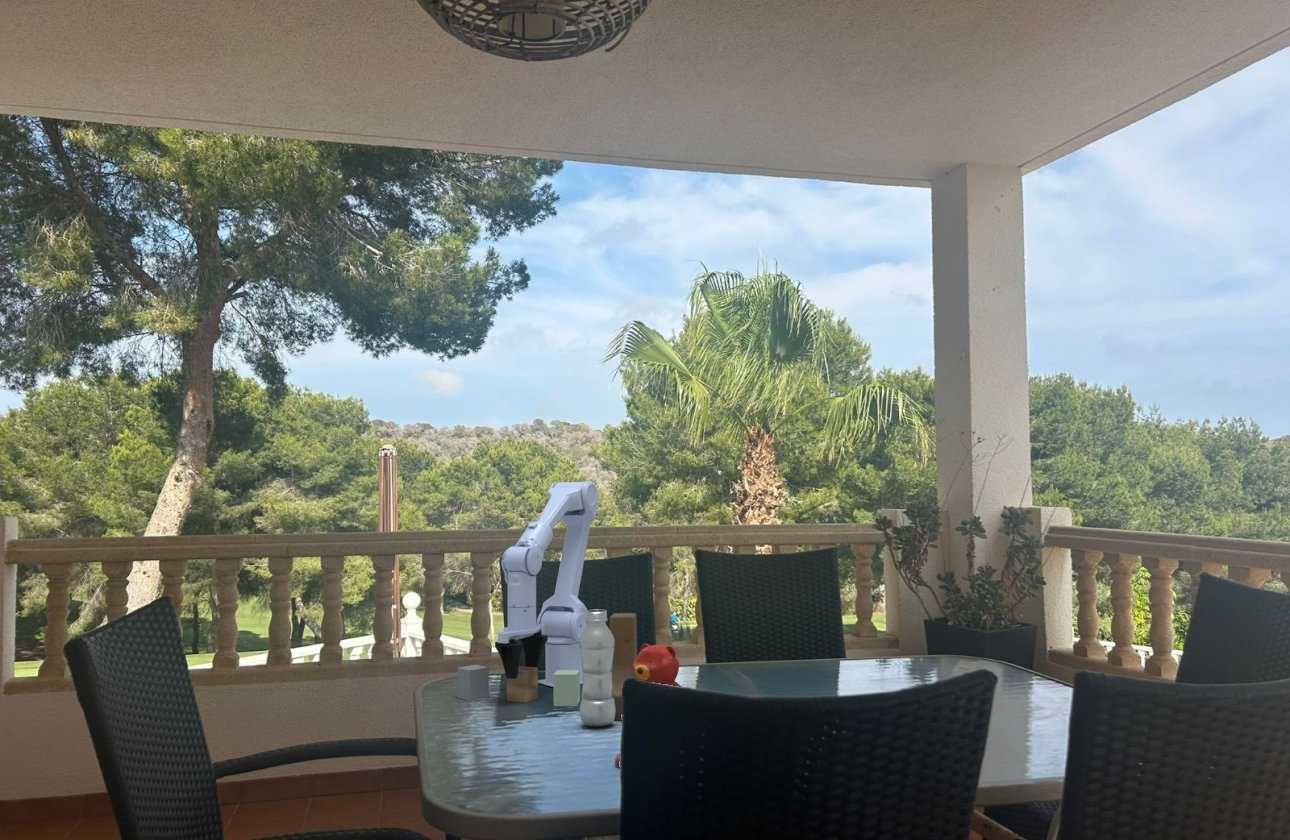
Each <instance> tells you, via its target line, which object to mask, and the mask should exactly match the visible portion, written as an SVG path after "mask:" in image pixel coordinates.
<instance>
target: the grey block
mask: <svg viewBox="0 0 1290 840" xmlns="http://www.w3.org/2000/svg"><path fill="white" fill-rule="evenodd" d="M489 669H490V668H489V666H485V665H484V666H483V665H479V664H472V665H465V666H459V667H456V677H457V678H456V680H457V681H456V683H457V684H456V687H457V688H456V691H457V692H456V695H457V696H456V698H458V699H461V700H464V701H465V700H466V701H469V702H472V701H477V700H482V699H485V698H486V699H487V698H489V697H490V696H489V694H490V692H489V689H490V688H489V687H490V686H489V682H490V681H489V675H490V674H489V671H490V670H489Z"/></svg>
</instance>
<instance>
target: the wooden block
mask: <svg viewBox="0 0 1290 840" xmlns="http://www.w3.org/2000/svg"><path fill="white" fill-rule="evenodd" d="M637 625H638V624H637V613H636V612H635V613H634V612H626V613H625V612H623V613H622V612H616V613H613V614H611V615H610V617H609V629H610V631H611V632H612V634H613V636H614V640H615V645H614V653H613V662H612V684H613V695H614V696H613V697H614V700H615V705H616V714H615V719H614V721H622V720H621V714H622V688H623V682H624V681H625V680H626V679H628V678H636V676H635V673H634V670H633V664H634V661H635V659H636V657H637V655H638V640H637V639H638V636H637V635H638V633H637V627H638V626H637Z"/></svg>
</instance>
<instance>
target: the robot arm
mask: <svg viewBox="0 0 1290 840" xmlns="http://www.w3.org/2000/svg"><path fill="white" fill-rule="evenodd" d="M598 502H599V494H598V490H597V487H596V484H595V483H594V482H593V481H591V480H586V481H569V482H568V481H566V482H559V481H554V482H552V483H551V485H550V487H549V489H548V491H547V503H546V505H545V507H544V509H543V510H542V513H541V515H540V516H539V518H538V520H536V521H532V522H530V523H529V524H528V526H527V527H526V528H525V530H524V532H523V533H522V535H521V536H520V538H519V539H518V540H517V542H516V544H515V545H513V546H510V547H508V549H505V551H504V553H503V555H502V559H501V568H502V571H503V574H504V581H505V584H507V626H505V627H503V628H502V631H500V632H498V633H497V641H495V642H494V647H495V649H496V651H497V652H498V654H499V657H500V659H501V662H502V666H503V669H504V674H505V677H506V679H507V678H509V679H516V678H517V676H518V668H519V665H520V657H521V654H522V650H523V652H524V661H525V667H535V668H538V669H539V665H540V660H541V656H542V653H543V650H544V649H545V650H544V651H545V653H544V654H545V679H538V684H542V685H543V686H544V685H545V686H548V687H552V688H553V674H554V673H555V672H556V671H557V670H580V685H582V684H583V675H582V674H583V671H582V661H581V654H580V647H579V640H580V636H581V634H582V633H583V631H584V629H585V628H586V626H587V624H588V622H586V618H587V610H588V608H587V607H586V605H585V604H584V603H583V602H582V601H581V600H580V599H579V591H580V585H581V581H582V575H583V569H584V563H585V557H586V552H587V546H588V539H589V534H590V528H591V524H592V523H593V522H595V519H596V515H597V513H596V512H597V509H598ZM559 522H561V523H563V524H565V526H566V530H565V535H564V540H563V547H562V551H561V557H560V563H559V568H558V574H557V579H556V584H555V588H554V594H553V595H552V596H551V597H549V598H547V599H546V600H545V601H544V602H543V603H542V607H541V611H540V612H539V615H538V617H537V574H538V573H539V572H540V571H541V569H542V566H543V565H542V564H543V559H544V557H545V556H544V553H545V551H546V550H547V548H548V547H549V545H550V544H551V542H552V540H553V538H554V533H553V530H554V528H555V527H556V525H558V523H559ZM517 640H520V641H521V643H518V642H517ZM544 647H545V648H544Z"/></svg>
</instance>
